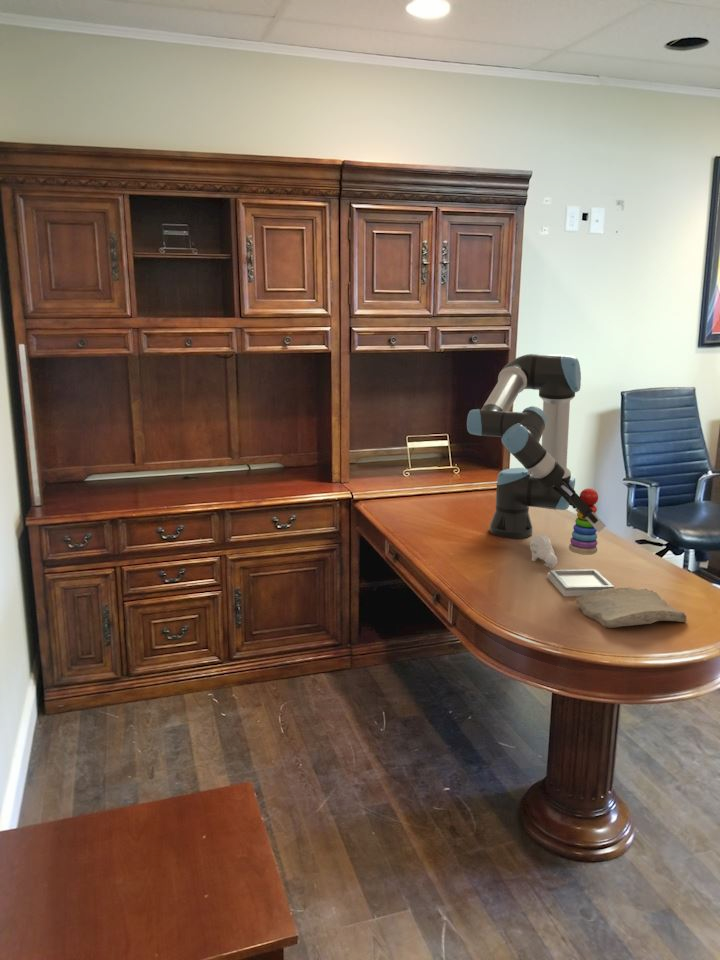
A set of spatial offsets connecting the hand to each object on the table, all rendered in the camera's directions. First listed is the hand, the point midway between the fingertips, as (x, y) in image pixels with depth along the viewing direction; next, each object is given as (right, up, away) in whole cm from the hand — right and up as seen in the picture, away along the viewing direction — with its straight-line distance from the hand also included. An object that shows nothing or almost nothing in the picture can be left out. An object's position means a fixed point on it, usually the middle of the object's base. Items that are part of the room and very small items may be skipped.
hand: (597, 525), depth 212 cm
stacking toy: (-4, -8, +2) cm, 9 cm away
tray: (-3, -18, +5) cm, 19 cm away
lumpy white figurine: (-9, -14, +23) cm, 29 cm away
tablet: (+4, -24, -16) cm, 29 cm away
